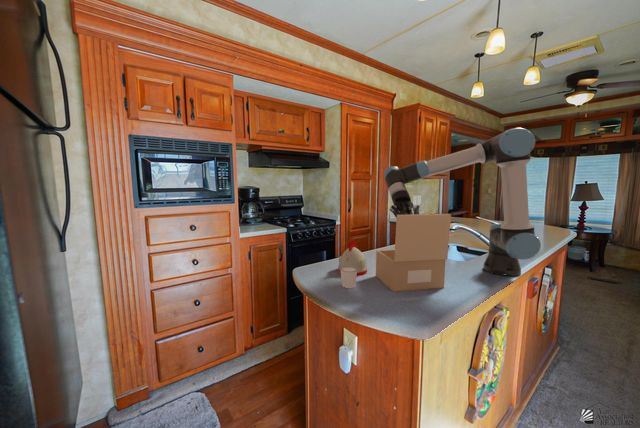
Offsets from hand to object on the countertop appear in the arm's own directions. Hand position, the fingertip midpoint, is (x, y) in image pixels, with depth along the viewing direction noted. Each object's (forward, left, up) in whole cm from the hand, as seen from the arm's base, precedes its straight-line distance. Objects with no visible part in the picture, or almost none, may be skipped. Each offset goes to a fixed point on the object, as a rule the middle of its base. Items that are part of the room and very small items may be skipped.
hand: (416, 240), depth 103 cm
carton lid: (-2, -1, +1) cm, 2 cm away
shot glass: (+20, +18, -20) cm, 33 cm away
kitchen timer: (+32, +3, -20) cm, 38 cm away
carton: (+7, -5, -20) cm, 22 cm away
